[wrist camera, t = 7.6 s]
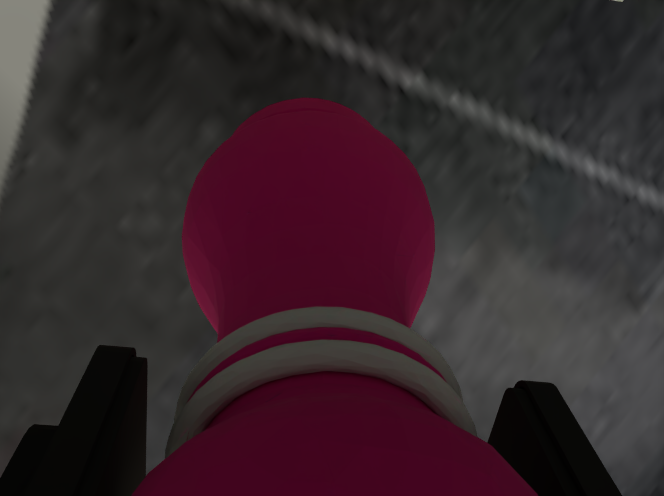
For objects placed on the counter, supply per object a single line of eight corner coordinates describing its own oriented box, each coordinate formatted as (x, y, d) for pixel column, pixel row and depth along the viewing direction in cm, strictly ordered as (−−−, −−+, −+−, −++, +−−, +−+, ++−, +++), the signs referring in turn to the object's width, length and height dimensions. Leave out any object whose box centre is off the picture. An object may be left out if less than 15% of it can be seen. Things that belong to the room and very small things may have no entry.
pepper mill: (420, 251, 23) (861, 1295, 5) (235, 290, 23) (50, 1412, 5) (389, 59, 20) (1265, 1059, 2) (176, 107, 20) (-749, 1366, 2)
